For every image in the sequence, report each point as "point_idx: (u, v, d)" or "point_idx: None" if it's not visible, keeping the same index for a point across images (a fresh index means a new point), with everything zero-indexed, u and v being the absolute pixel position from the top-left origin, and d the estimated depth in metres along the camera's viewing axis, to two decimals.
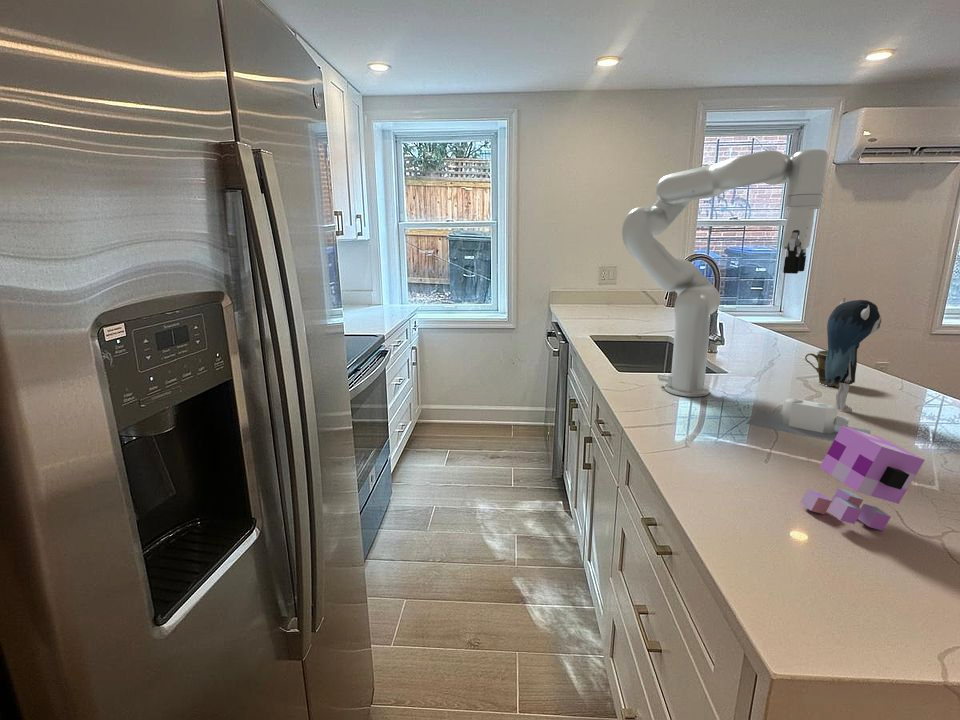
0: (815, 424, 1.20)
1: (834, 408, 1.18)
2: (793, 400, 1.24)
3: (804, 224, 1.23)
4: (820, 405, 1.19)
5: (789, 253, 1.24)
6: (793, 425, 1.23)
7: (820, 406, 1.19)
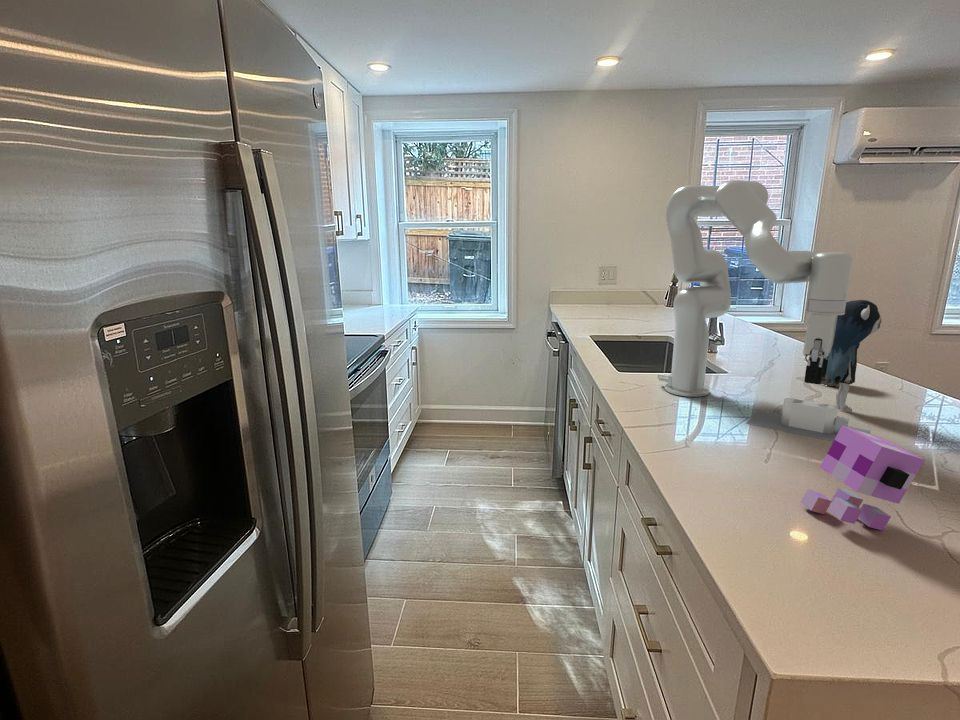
0: (815, 424, 1.20)
1: (834, 408, 1.18)
2: (793, 400, 1.24)
3: (827, 333, 1.12)
4: (820, 405, 1.19)
5: (811, 363, 1.14)
6: (793, 425, 1.23)
7: (820, 406, 1.19)
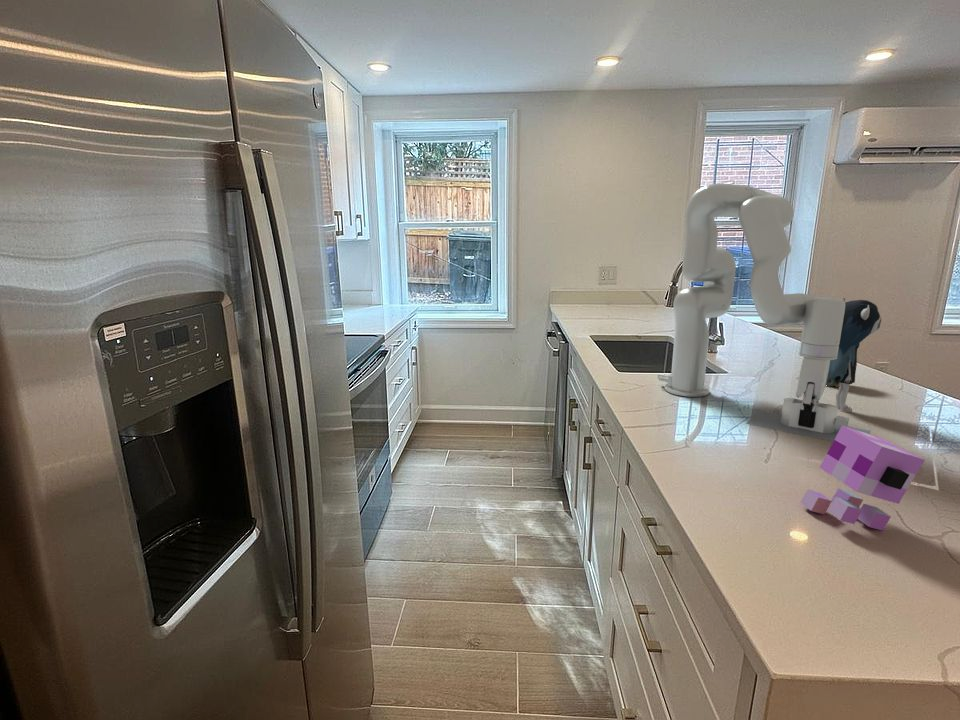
0: (815, 424, 1.20)
1: (834, 408, 1.18)
2: (793, 400, 1.24)
3: (820, 377, 1.15)
4: (820, 405, 1.19)
5: (805, 408, 1.18)
6: (793, 425, 1.23)
7: (820, 406, 1.19)
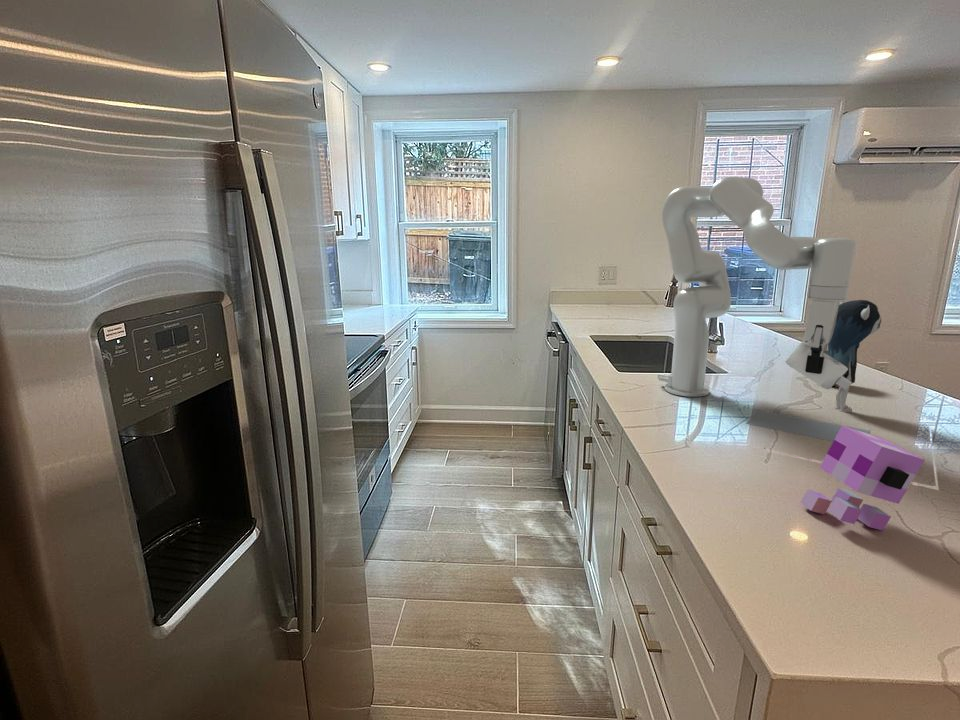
0: (818, 375, 1.17)
1: (845, 368, 1.15)
2: None
3: (829, 319, 1.12)
4: (833, 361, 1.16)
5: (812, 353, 1.15)
6: (796, 368, 1.20)
7: (833, 361, 1.16)
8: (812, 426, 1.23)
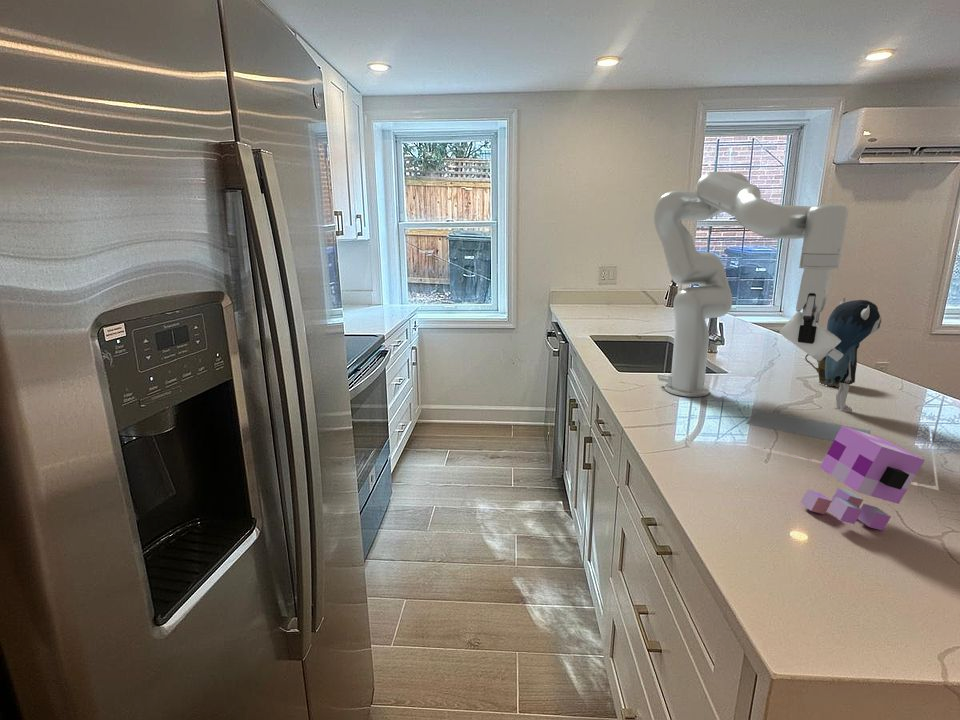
0: (810, 346, 1.16)
1: (838, 340, 1.14)
2: None
3: (821, 287, 1.11)
4: (827, 332, 1.15)
5: (805, 322, 1.14)
6: (789, 338, 1.19)
7: (827, 332, 1.15)
8: (812, 426, 1.23)
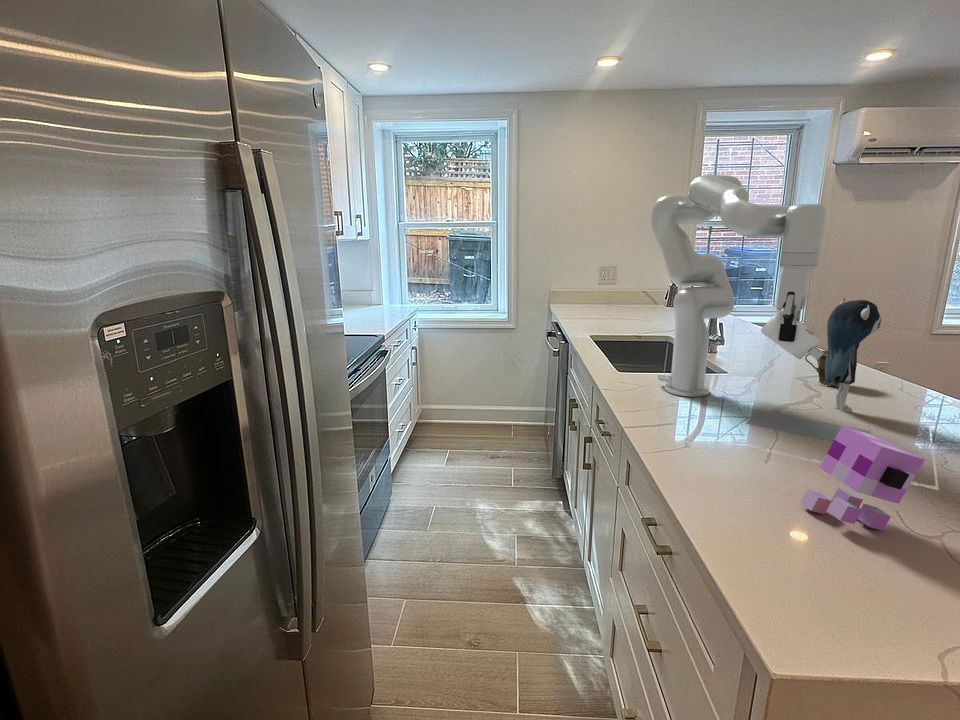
0: (791, 345, 1.17)
1: (818, 338, 1.14)
2: None
3: (800, 286, 1.11)
4: (807, 330, 1.16)
5: (785, 321, 1.15)
6: (770, 337, 1.19)
7: (807, 331, 1.15)
8: (812, 426, 1.23)
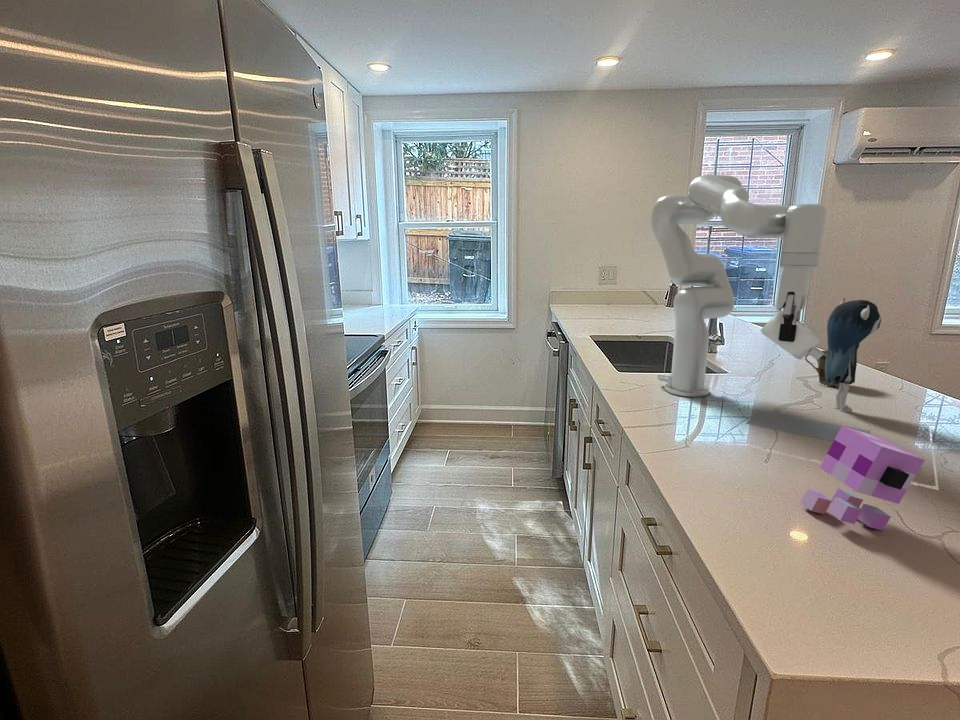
0: (791, 345, 1.17)
1: (818, 338, 1.15)
2: None
3: (800, 286, 1.11)
4: (807, 331, 1.16)
5: (785, 321, 1.15)
6: (770, 337, 1.19)
7: (807, 331, 1.15)
8: (812, 426, 1.23)
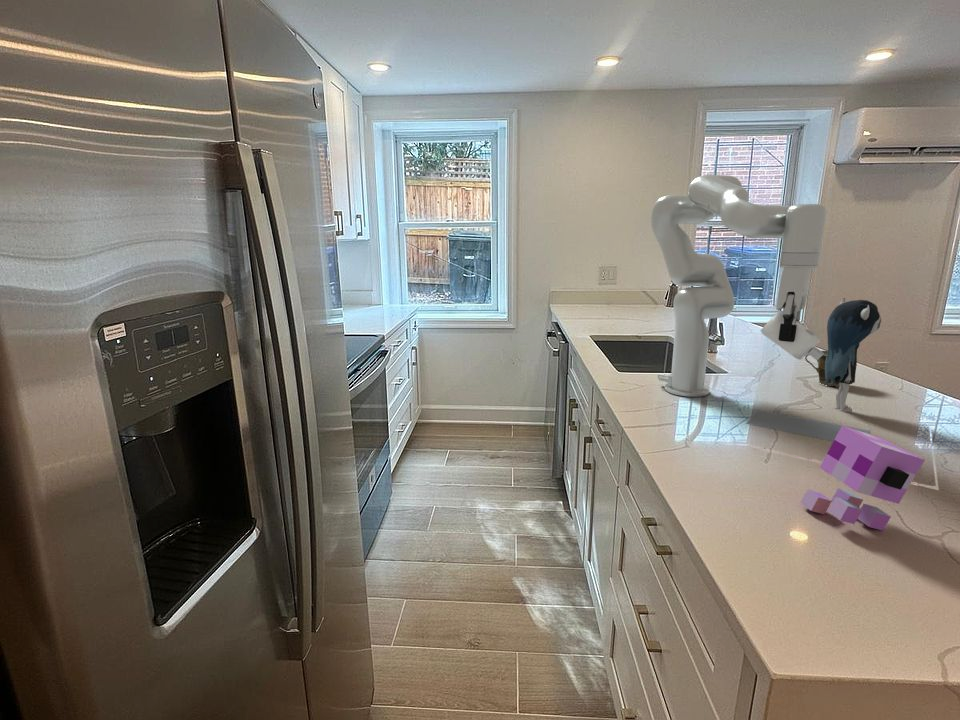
0: (791, 345, 1.17)
1: (818, 339, 1.15)
2: None
3: (800, 286, 1.11)
4: (807, 331, 1.16)
5: (785, 321, 1.15)
6: (770, 337, 1.19)
7: (807, 331, 1.15)
8: (812, 426, 1.23)
